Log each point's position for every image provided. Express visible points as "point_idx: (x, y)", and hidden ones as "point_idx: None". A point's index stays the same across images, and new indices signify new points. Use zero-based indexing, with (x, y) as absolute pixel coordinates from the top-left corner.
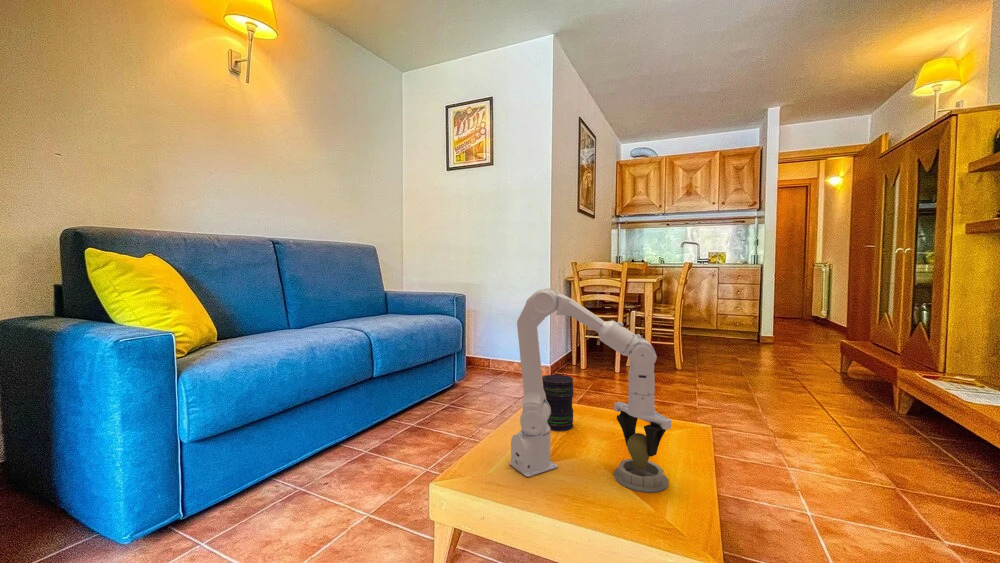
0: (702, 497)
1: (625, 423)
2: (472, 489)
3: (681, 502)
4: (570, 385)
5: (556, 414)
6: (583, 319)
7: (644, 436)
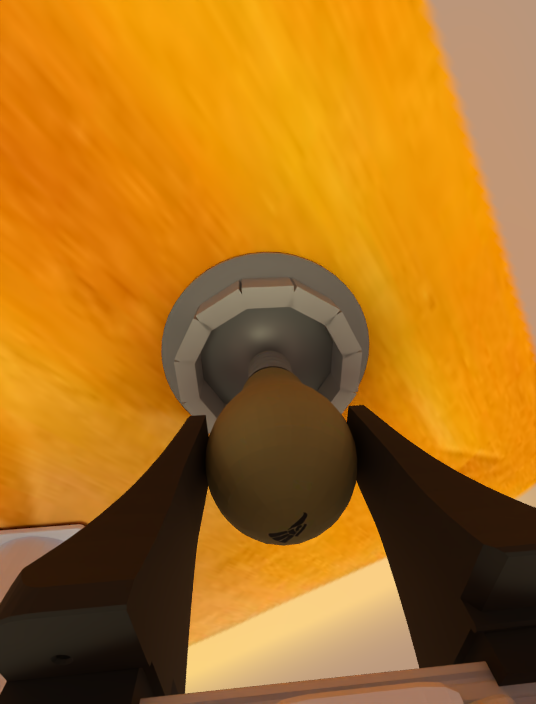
0: (483, 265)
1: (184, 639)
2: None
3: (440, 356)
4: None
5: None
6: None
7: (327, 512)
